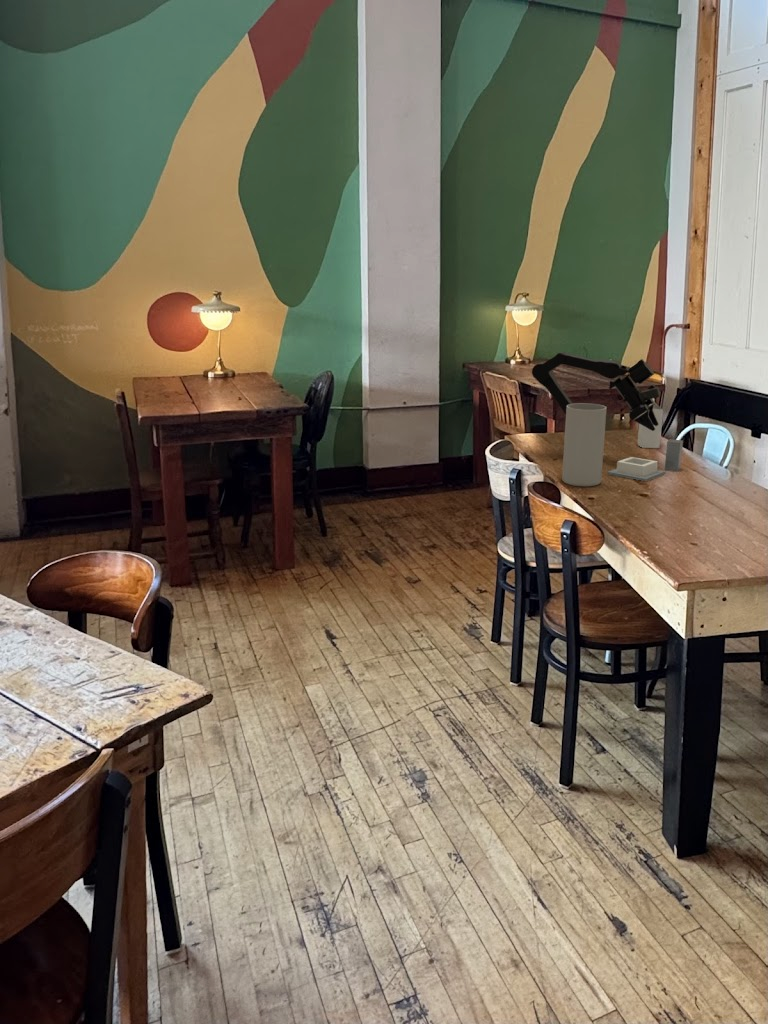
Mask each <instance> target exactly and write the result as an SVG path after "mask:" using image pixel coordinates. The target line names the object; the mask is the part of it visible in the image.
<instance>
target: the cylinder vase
mask: <svg viewBox="0 0 768 1024" xmlns="http://www.w3.org/2000/svg"><path fill="white" fill-rule="evenodd" d="M607 408H608V407H607V406H605V405H602V404H598V403H589V402H588V403H586V402H585V403H581V402H579V403H573V404H569V405H567V408H566V414H565V427H564V440H563V441H564V442H563V456H562V457H563V458H562V459H563V460H562V474H561V475H562V476H561V478H562V479H561V481H562V482H563V483H565V484H566V485H569V486H575V487H582V488H583V487H596V486H598V485H600V484H601V482H602V474H603V460H604V450H605V449H604V446H605V445H604V444H605V433H606V421H607Z"/></svg>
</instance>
